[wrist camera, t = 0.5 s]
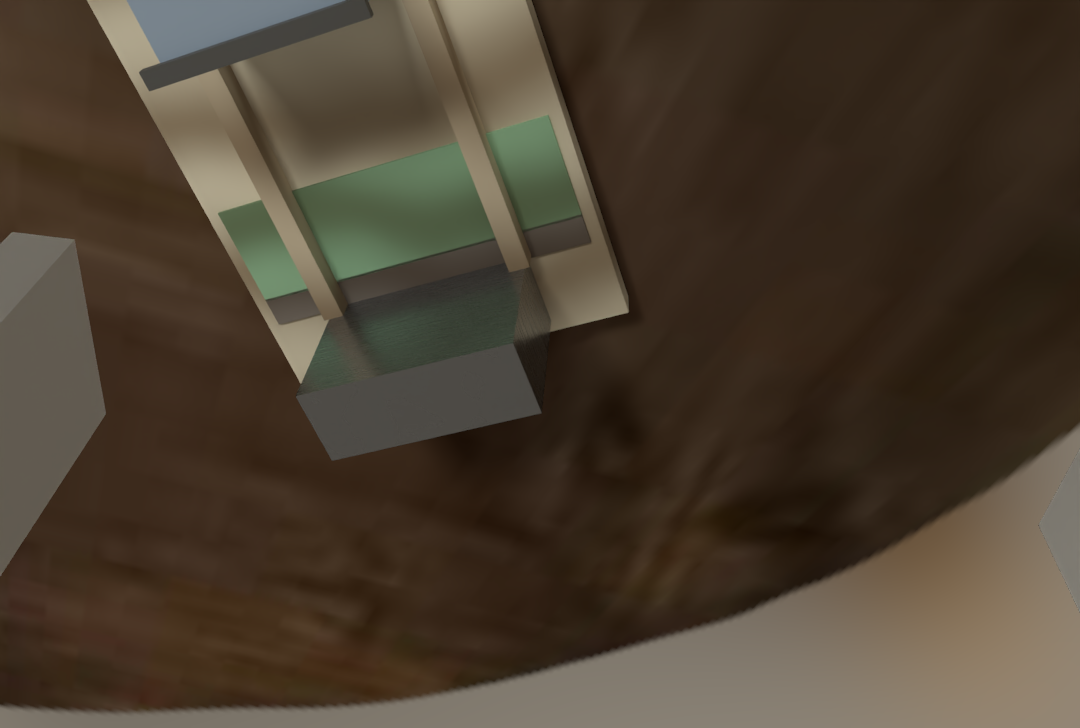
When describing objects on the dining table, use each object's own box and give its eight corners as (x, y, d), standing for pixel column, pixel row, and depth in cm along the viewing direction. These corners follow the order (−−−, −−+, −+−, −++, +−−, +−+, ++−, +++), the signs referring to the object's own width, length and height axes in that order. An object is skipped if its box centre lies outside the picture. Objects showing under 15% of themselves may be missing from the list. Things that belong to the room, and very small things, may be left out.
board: (13, -172, 33) (-23, -161, 31) (420, -340, 29) (407, -340, 28) (312, 375, 44) (299, 406, 42) (628, 296, 41) (628, 326, 39)
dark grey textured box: (335, 306, 41) (295, 396, 36) (526, 255, 39) (513, 343, 34) (365, 366, 42) (332, 460, 37) (551, 320, 40) (541, 413, 35)
